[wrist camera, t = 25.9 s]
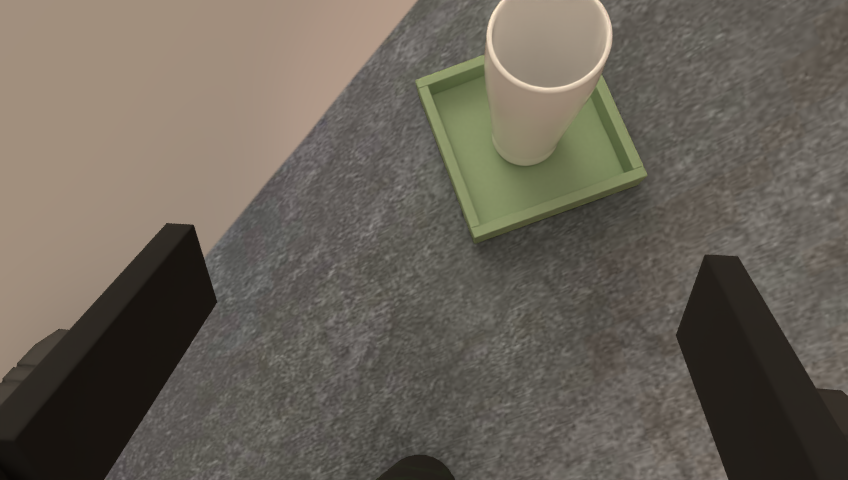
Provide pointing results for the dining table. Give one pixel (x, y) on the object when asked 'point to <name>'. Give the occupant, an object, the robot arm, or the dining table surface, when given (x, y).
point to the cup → (418, 469)
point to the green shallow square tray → (523, 185)
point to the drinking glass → (541, 71)
